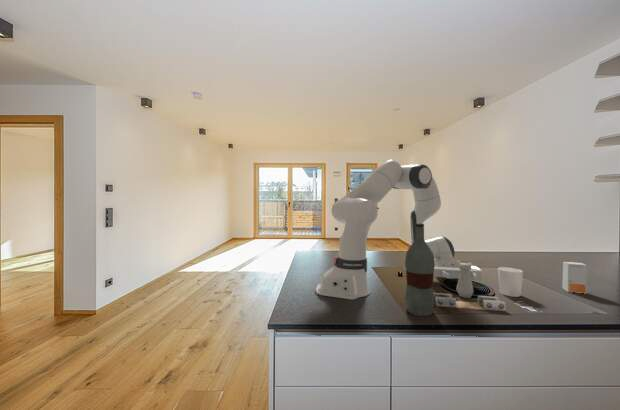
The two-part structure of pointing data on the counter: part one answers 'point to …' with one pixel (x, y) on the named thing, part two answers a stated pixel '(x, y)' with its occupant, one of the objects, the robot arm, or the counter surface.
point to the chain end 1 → (444, 300)
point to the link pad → (468, 305)
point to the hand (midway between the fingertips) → (462, 277)
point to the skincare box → (574, 277)
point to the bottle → (419, 276)
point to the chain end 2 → (491, 303)
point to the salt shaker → (464, 281)
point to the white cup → (510, 281)
